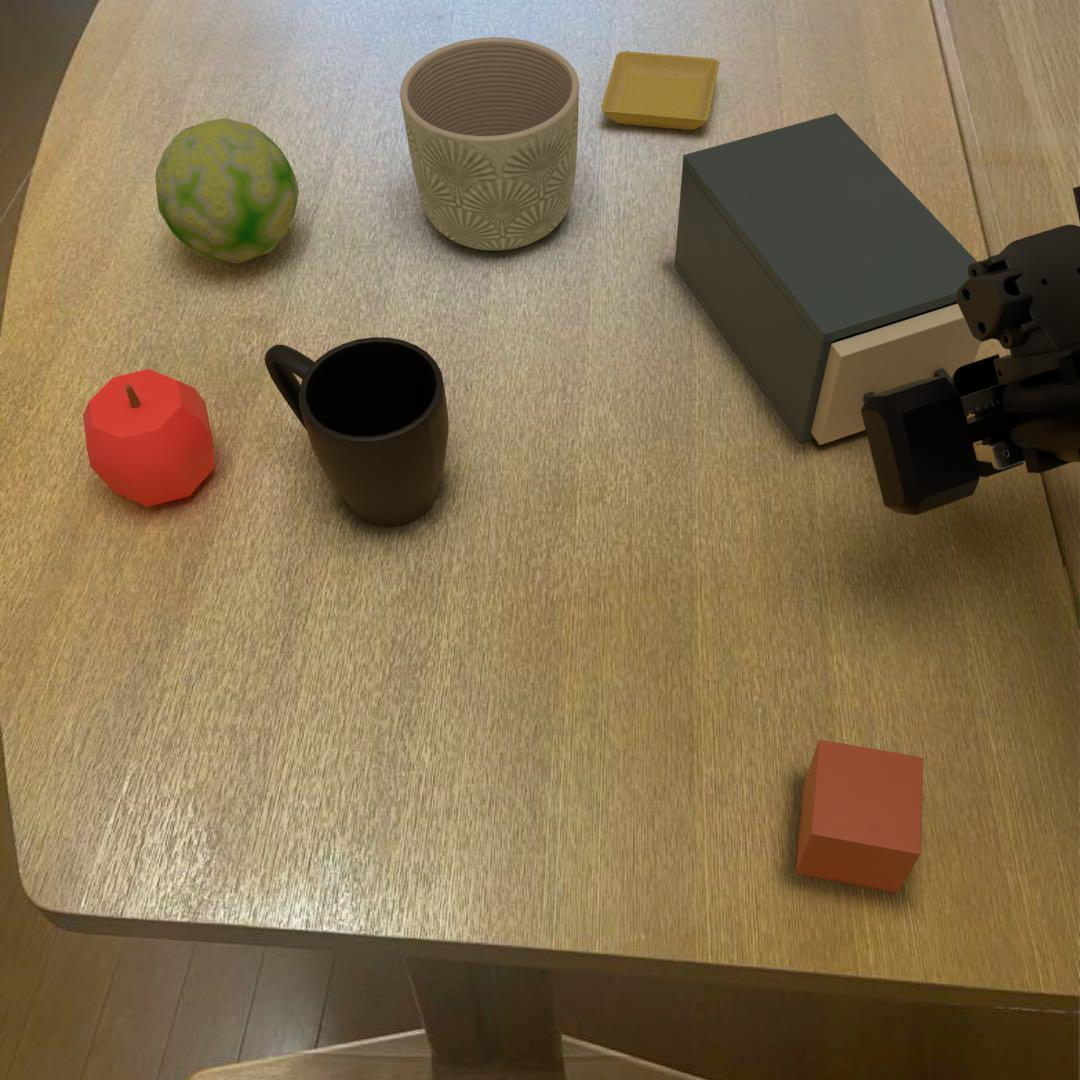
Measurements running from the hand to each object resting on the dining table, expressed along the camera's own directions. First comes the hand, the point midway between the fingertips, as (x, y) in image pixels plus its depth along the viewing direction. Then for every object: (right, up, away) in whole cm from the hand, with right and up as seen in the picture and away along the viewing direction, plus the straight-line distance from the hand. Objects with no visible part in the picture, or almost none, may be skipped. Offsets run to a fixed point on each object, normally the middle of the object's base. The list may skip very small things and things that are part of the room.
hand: (948, 407), depth 69 cm
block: (-8, -23, -9) cm, 26 cm away
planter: (-27, +17, +22) cm, 39 cm away
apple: (-48, -4, +7) cm, 48 cm away
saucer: (-14, +28, +29) cm, 43 cm away
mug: (-35, -4, +6) cm, 35 cm away
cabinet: (-5, +7, +13) cm, 16 cm away
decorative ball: (-46, +14, +20) cm, 52 cm away
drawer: (-4, +5, +10) cm, 12 cm away
